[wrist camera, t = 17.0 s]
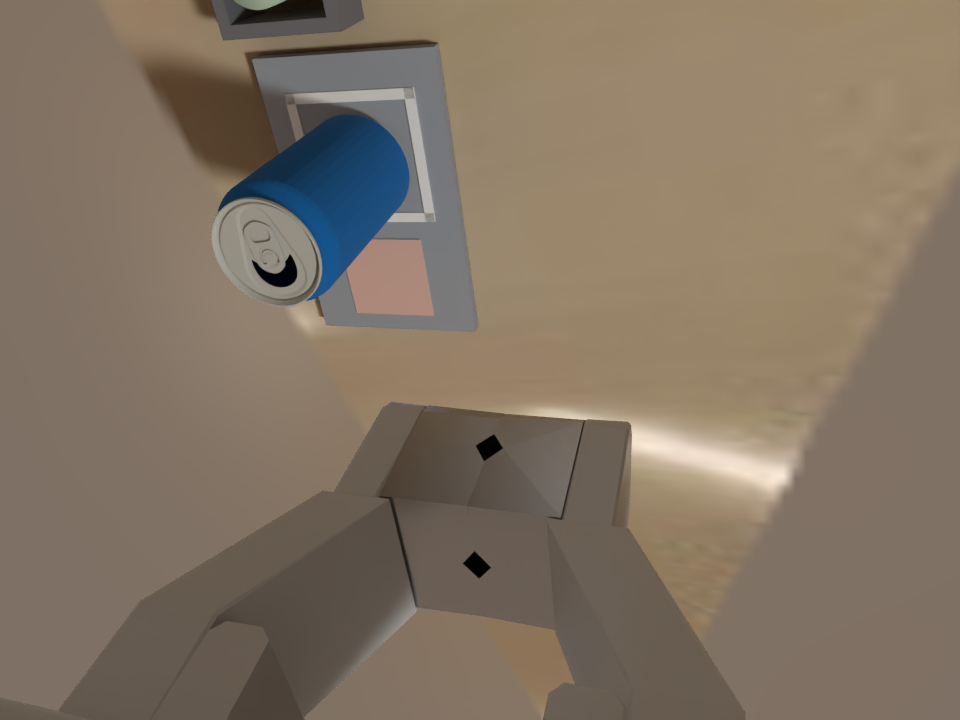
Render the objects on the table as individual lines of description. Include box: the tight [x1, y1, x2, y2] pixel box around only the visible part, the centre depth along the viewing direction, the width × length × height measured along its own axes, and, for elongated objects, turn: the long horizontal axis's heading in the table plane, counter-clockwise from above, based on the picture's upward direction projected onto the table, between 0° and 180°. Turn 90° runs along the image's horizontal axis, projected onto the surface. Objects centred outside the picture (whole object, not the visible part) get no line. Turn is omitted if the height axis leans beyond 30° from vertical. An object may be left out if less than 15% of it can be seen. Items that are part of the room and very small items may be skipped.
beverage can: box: [211, 114, 410, 307], centre depth 39 cm, size 6×6×12 cm
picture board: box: [252, 43, 478, 332], centre depth 46 cm, size 18×11×1 cm, turn 7°
